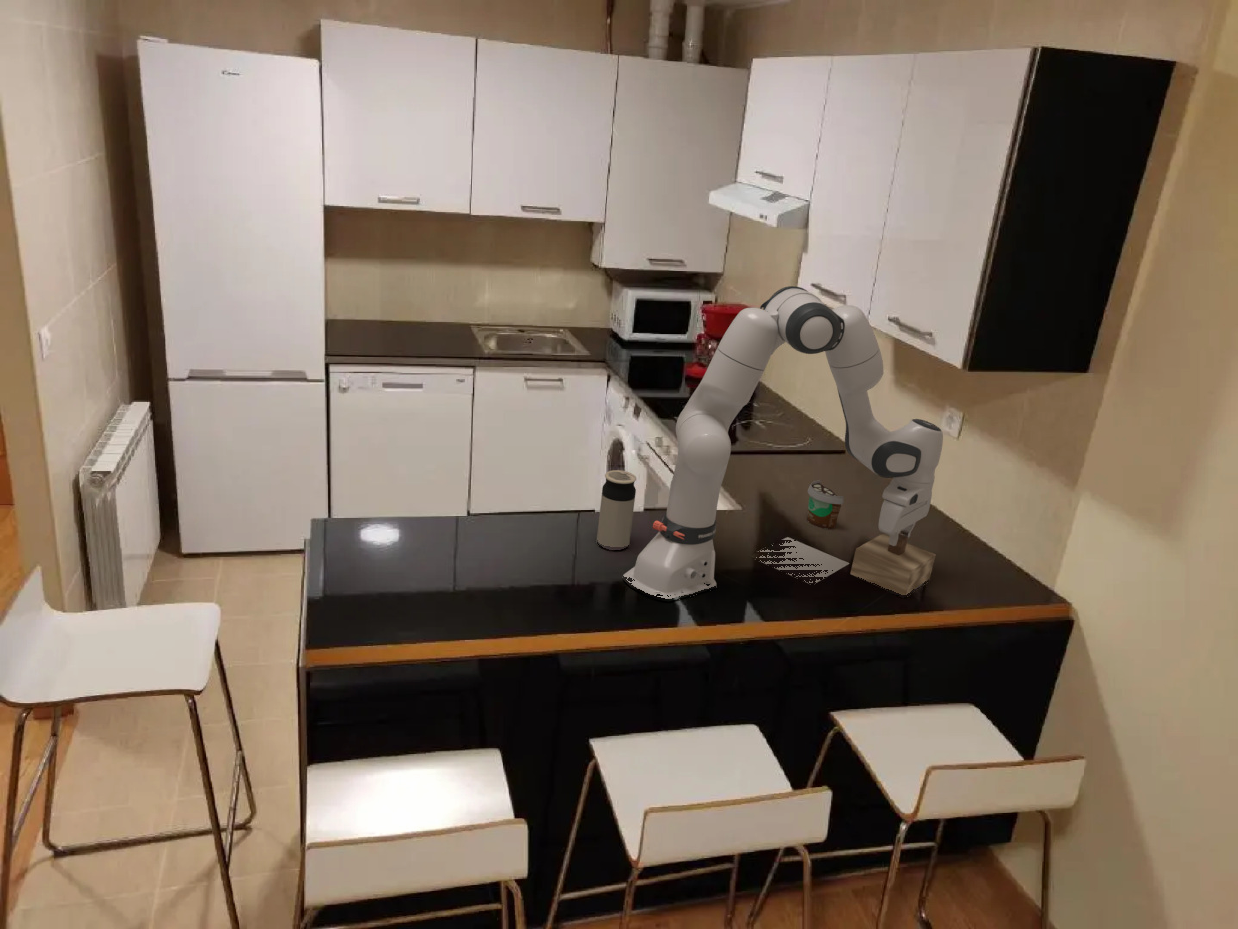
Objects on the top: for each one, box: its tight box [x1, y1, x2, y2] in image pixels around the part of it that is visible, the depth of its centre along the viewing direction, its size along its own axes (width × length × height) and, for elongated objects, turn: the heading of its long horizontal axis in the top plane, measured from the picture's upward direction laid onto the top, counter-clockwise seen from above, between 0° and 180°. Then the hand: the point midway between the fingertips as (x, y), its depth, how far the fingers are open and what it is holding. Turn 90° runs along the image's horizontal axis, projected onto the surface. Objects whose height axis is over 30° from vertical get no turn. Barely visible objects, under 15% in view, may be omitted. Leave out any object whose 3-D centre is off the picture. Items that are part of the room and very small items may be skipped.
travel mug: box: [596, 469, 637, 547], centre depth 221 cm, size 8×8×18 cm
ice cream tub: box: [806, 479, 844, 530], centre depth 248 cm, size 12×6×10 cm, turn 21°
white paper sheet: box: [756, 536, 850, 584], centre depth 226 cm, size 18×18×1 cm
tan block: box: [850, 533, 937, 595], centre depth 221 cm, size 14×14×11 cm
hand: (898, 541), depth 219 cm, fingers open, 5 cm apart
